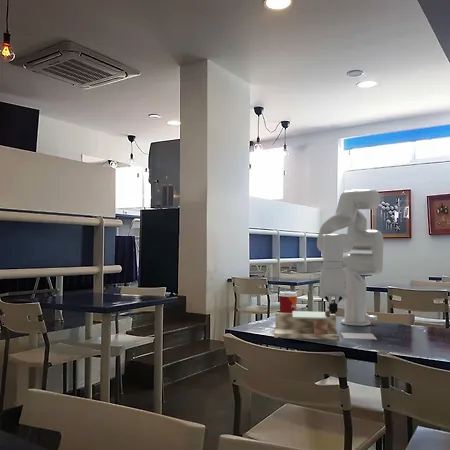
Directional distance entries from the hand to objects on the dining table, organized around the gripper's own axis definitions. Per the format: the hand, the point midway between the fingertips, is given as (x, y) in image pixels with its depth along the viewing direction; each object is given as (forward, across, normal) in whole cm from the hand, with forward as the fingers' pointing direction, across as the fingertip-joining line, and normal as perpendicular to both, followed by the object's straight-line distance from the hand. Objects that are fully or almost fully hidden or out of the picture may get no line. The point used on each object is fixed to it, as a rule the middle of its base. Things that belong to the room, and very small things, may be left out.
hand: (333, 313), depth 181 cm
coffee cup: (+9, +17, -19) cm, 27 cm away
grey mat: (+9, -10, -2) cm, 13 cm away
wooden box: (+9, +10, -2) cm, 14 cm away
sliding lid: (+1, +9, -2) cm, 9 cm away
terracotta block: (+9, +5, 0) cm, 10 cm away
